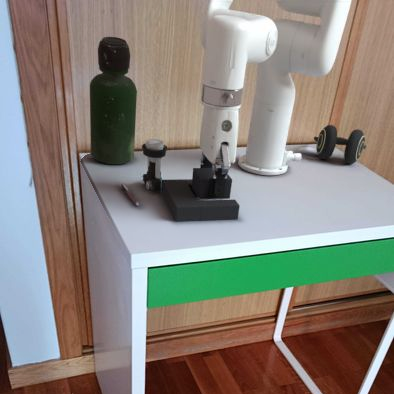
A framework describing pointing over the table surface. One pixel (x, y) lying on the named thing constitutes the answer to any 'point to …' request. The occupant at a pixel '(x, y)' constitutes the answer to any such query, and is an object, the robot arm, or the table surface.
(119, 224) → the table surface
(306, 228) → the table surface
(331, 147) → the black dumbbell
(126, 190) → the pen
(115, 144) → the green bottle
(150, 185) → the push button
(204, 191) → the small black block
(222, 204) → the black u-shaped block
